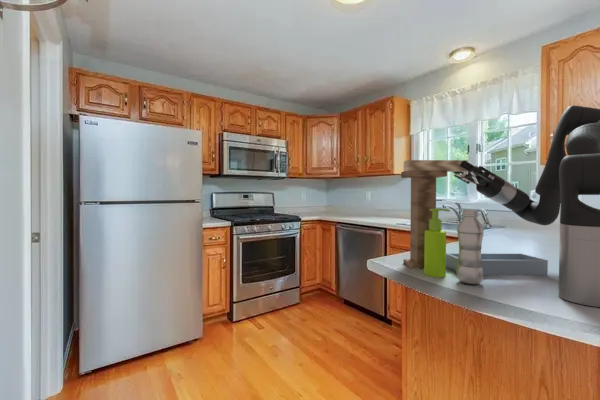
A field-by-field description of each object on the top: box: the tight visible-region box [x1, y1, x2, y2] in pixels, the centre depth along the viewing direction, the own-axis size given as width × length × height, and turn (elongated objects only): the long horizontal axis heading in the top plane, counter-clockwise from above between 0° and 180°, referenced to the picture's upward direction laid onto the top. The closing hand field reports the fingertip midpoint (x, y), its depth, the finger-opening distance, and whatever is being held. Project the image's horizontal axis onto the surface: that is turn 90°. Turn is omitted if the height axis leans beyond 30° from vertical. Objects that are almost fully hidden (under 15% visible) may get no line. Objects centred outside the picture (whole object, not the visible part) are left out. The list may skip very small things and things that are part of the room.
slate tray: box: [446, 252, 549, 276], centre depth 94 cm, size 26×11×4 cm, turn 90°
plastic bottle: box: [455, 209, 485, 285], centre depth 80 cm, size 6×7×20 cm
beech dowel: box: [403, 159, 469, 173], centre depth 99 cm, size 20×4×4 cm, turn 90°
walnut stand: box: [400, 170, 448, 270], centre depth 99 cm, size 12×8×32 cm, turn 90°
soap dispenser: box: [423, 207, 451, 278], centre depth 89 cm, size 6×7×20 cm
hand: (454, 164), depth 99 cm, fingers open, 8 cm apart
